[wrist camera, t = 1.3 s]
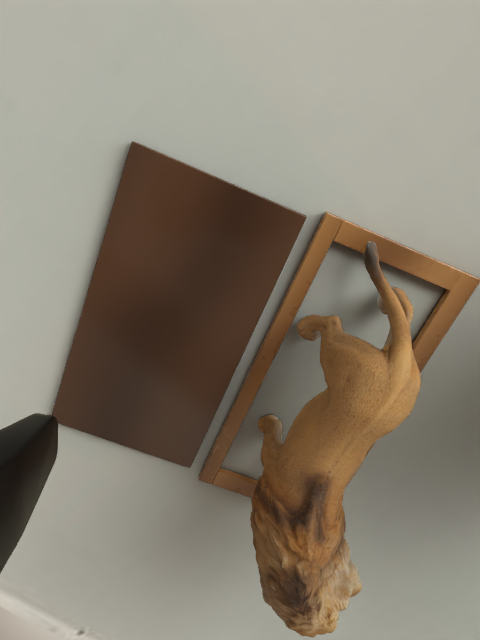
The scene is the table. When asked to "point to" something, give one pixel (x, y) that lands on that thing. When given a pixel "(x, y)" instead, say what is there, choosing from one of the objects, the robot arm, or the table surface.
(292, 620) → the lion figurine
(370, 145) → the table surface
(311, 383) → the table surface
